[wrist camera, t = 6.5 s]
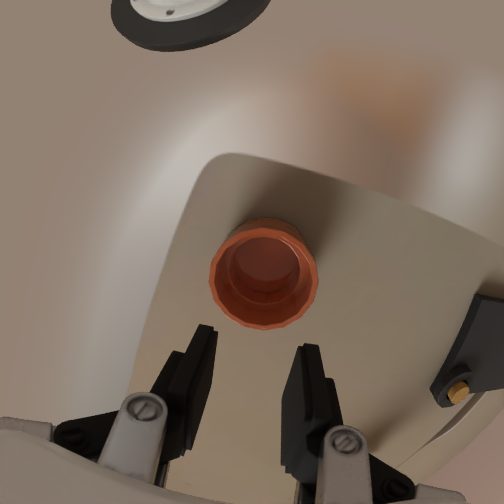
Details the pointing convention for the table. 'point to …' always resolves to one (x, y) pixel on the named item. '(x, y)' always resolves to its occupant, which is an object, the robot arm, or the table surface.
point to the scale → (475, 352)
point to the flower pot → (264, 275)
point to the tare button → (458, 392)
